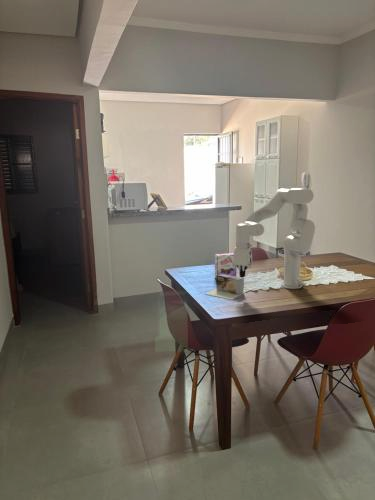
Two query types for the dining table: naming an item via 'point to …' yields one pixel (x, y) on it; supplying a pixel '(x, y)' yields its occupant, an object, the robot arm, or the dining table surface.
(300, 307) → the dining table surface
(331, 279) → the dining table surface
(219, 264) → the candy box
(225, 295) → the mat
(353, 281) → the dining table surface
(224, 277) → the coffee box
